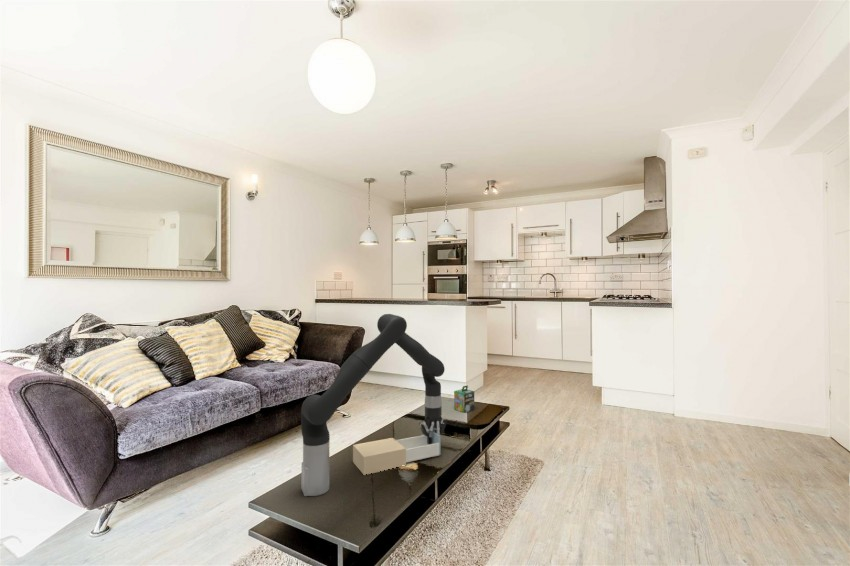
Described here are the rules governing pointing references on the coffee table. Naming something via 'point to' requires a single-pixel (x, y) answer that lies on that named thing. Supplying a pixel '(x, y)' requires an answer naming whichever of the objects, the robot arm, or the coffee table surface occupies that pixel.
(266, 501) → the coffee table surface
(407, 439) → the inner tray
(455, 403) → the chalk box
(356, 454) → the sleeve
